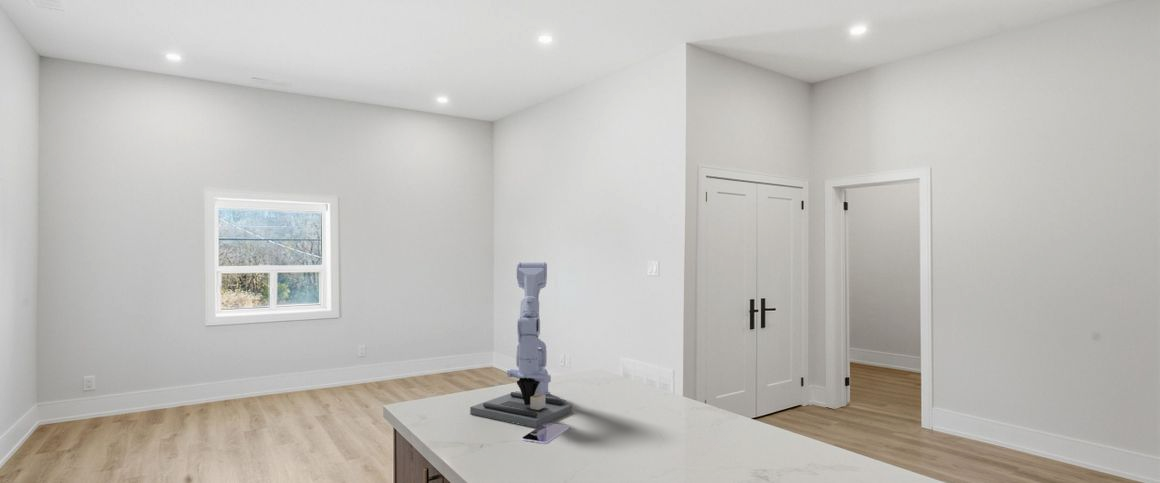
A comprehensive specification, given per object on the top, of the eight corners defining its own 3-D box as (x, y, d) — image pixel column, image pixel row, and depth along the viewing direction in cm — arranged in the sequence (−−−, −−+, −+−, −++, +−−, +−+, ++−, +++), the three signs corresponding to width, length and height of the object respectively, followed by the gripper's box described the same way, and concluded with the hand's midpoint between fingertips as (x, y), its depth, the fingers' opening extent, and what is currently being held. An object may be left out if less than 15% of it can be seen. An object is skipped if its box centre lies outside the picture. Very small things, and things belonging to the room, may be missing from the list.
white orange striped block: (537, 405, 171) (537, 393, 171) (545, 407, 170) (545, 394, 170) (530, 408, 168) (530, 396, 168) (538, 410, 167) (538, 397, 167)
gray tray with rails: (515, 394, 185) (515, 390, 185) (568, 404, 174) (568, 399, 174) (479, 407, 171) (479, 402, 171) (535, 418, 160) (535, 413, 160)
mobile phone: (519, 437, 148) (545, 421, 162) (519, 441, 148) (545, 424, 162) (546, 441, 145) (570, 424, 159) (546, 445, 145) (570, 428, 159)
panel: (508, 400, 186) (509, 393, 186) (571, 411, 173) (571, 404, 173) (470, 413, 171) (470, 406, 171) (536, 427, 158) (536, 420, 158)
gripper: (500, 357, 171) (500, 403, 171) (540, 362, 164) (540, 411, 164) (515, 353, 177) (515, 398, 177) (554, 358, 170) (554, 405, 170)
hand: (528, 404), depth 171 cm, fingers closed
